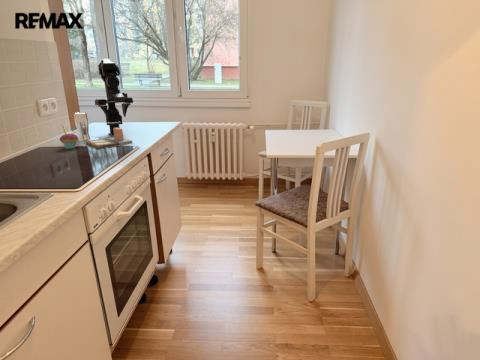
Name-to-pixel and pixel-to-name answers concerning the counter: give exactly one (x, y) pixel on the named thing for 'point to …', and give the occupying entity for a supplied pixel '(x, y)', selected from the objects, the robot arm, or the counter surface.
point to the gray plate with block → (119, 137)
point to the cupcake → (69, 140)
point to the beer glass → (82, 126)
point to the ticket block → (102, 143)
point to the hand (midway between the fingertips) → (116, 117)
